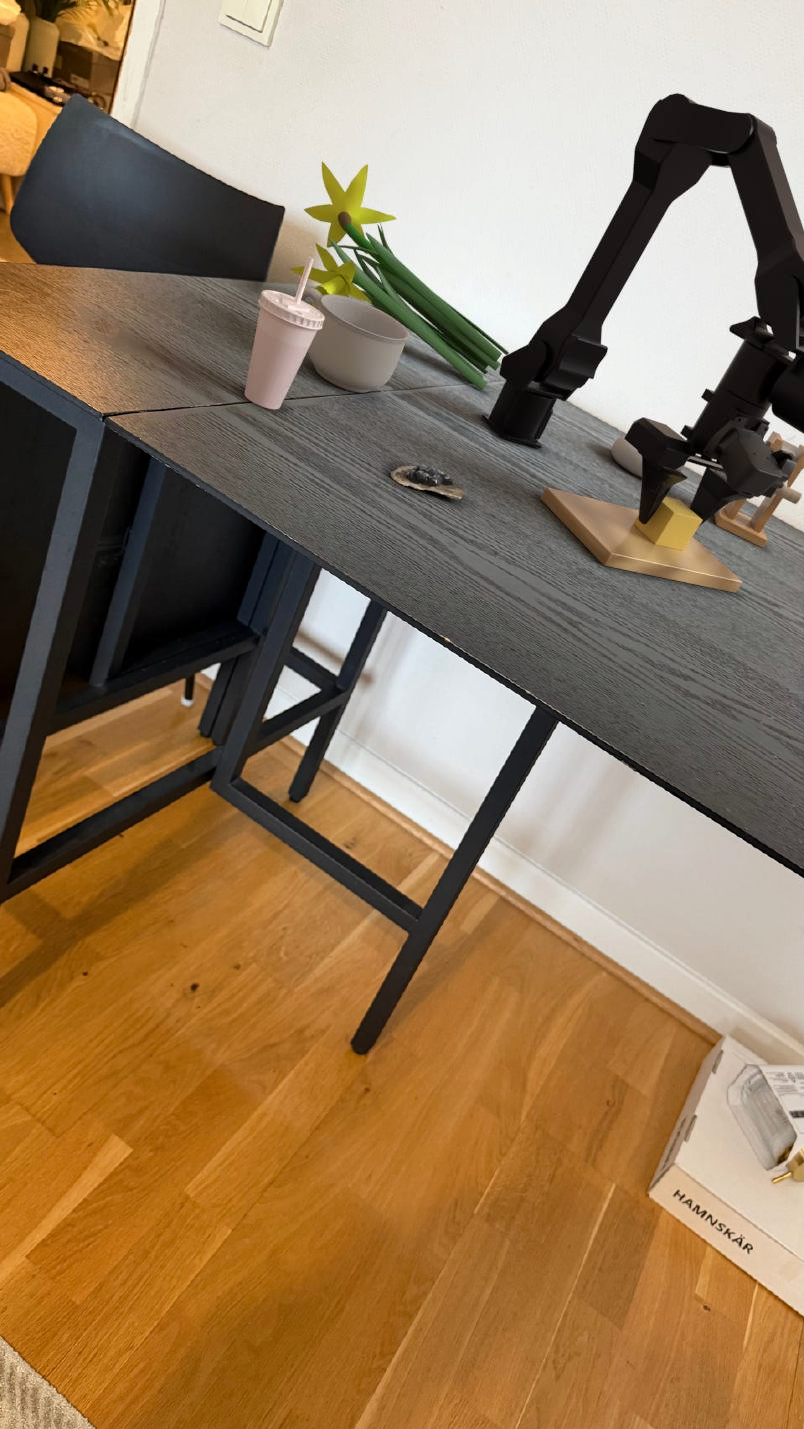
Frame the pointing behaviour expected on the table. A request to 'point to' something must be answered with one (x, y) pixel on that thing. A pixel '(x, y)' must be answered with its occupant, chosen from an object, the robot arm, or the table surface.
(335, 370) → the teacup
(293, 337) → the smoothie
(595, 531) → the cutting board
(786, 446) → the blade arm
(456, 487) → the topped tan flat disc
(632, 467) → the donut
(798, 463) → the wooden dowel stand
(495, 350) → the daffodil flowers
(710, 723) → the table surface
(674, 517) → the yellow cube
